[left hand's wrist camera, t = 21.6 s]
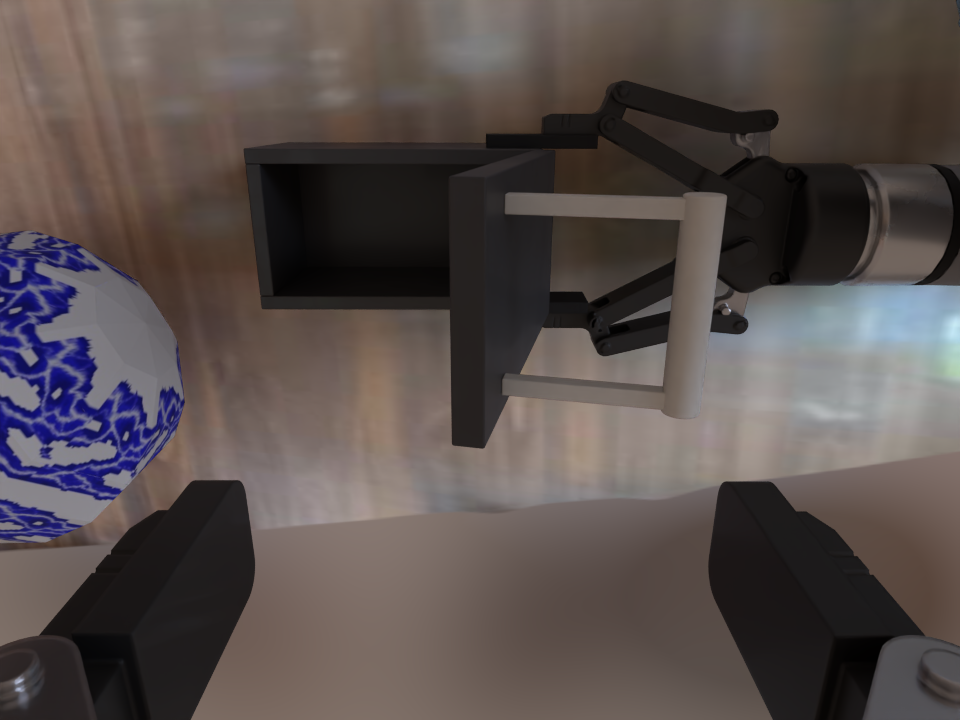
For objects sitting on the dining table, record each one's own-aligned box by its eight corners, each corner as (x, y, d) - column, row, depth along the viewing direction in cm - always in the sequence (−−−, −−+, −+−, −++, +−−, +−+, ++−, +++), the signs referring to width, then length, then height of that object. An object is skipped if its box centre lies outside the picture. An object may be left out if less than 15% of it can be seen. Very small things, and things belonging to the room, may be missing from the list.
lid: (451, 446, 24) (704, 474, 22) (447, 176, 21) (744, 182, 19) (528, 312, 40) (678, 321, 38) (533, 149, 37) (697, 151, 35)
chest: (299, 275, 49) (261, 309, 41) (287, 142, 46) (243, 148, 37) (527, 275, 49) (537, 309, 41) (531, 143, 46) (543, 149, 37)
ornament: (229, 534, 40) (-37, 648, 43) (256, 333, 55) (57, 428, 58) (-76, 300, 27) (-428, 484, 30) (66, 120, 42) (-178, 255, 45)
